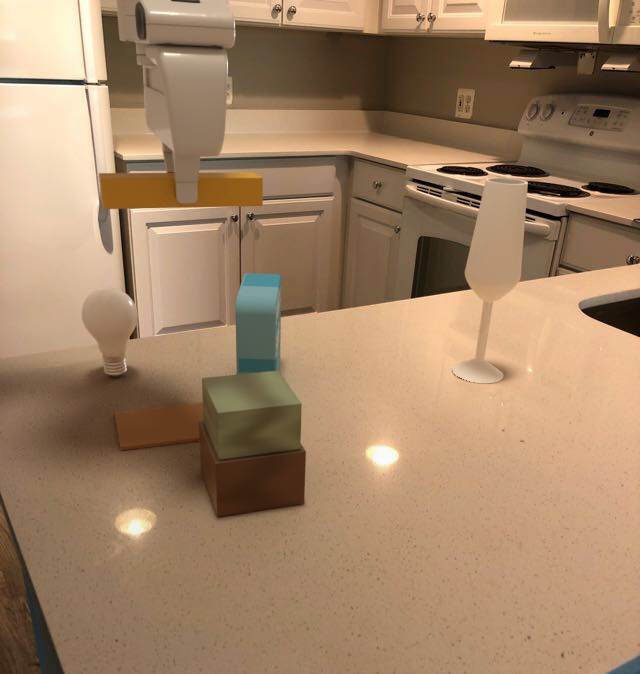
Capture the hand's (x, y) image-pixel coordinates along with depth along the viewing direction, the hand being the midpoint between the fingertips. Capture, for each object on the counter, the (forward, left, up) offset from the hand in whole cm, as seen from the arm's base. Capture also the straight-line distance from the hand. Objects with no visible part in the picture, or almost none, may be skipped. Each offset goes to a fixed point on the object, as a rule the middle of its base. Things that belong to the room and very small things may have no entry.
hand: (182, 197), depth 63 cm
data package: (+10, +13, -25) cm, 29 cm away
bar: (0, 0, -1) cm, 1 cm away
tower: (+3, -11, -24) cm, 27 cm away
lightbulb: (-7, +18, -24) cm, 31 cm away
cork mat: (-1, +3, -24) cm, 24 cm away
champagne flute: (+38, +8, -24) cm, 46 cm away
